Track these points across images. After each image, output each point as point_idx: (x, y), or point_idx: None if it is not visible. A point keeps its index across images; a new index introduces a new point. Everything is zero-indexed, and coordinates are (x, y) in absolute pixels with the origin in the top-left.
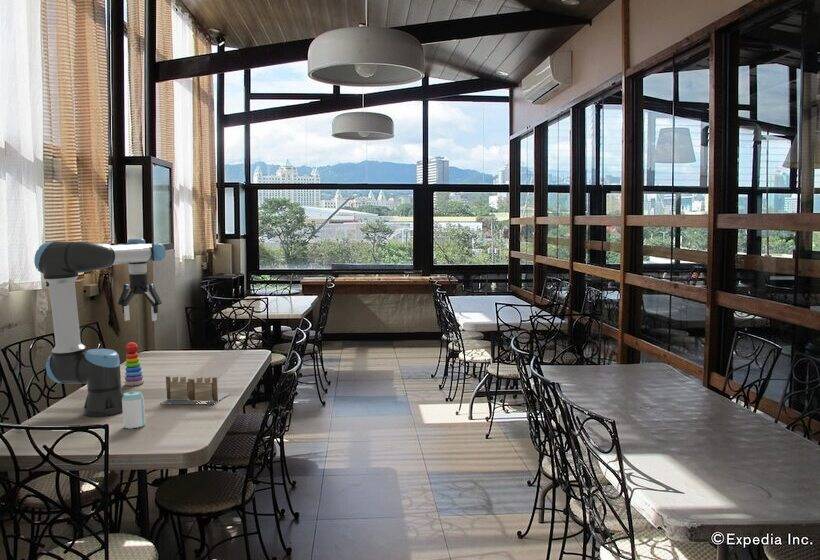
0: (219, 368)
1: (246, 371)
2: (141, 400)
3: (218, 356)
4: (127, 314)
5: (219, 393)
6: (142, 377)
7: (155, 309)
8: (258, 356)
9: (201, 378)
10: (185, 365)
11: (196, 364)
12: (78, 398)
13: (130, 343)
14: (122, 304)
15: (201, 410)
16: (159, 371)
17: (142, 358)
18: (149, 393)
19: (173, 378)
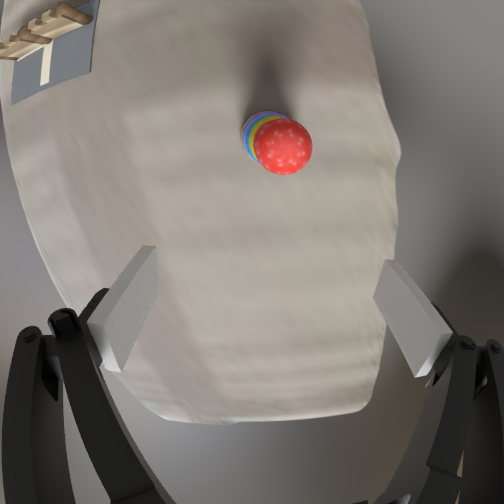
0: None
1: (70, 284)
2: None
3: (212, 395)
4: (397, 304)
5: (23, 96)
6: (242, 141)
7: (88, 310)
8: (136, 388)
9: (5, 41)
10: (238, 338)
11: (217, 346)
12: (335, 3)
13: (282, 132)
14: (470, 344)
15: (29, 11)
16: (274, 283)
17: (365, 375)
18: (164, 50)
19: (50, 11)
